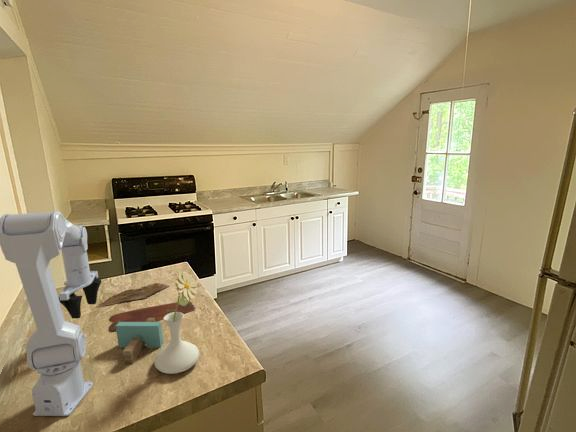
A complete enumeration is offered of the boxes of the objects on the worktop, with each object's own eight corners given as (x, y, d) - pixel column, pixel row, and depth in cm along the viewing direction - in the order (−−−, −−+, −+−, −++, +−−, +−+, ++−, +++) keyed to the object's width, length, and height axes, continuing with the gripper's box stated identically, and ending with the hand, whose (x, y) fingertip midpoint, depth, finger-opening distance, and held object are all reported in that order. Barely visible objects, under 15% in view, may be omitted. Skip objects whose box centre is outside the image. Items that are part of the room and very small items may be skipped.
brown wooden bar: (132, 364, 86) (130, 351, 85) (124, 364, 86) (122, 351, 85) (156, 329, 102) (154, 317, 101) (149, 329, 102) (148, 317, 101)
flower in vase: (174, 385, 79) (165, 291, 73) (145, 367, 85) (135, 279, 79) (213, 355, 90) (208, 271, 84) (185, 341, 96) (178, 262, 90)
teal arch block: (163, 343, 95) (160, 321, 93) (160, 347, 93) (158, 325, 91) (122, 343, 95) (119, 321, 93) (118, 347, 93) (115, 325, 91)
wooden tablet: (109, 334, 100) (108, 330, 99) (109, 318, 108) (109, 314, 108) (197, 313, 112) (196, 308, 111) (190, 300, 120) (190, 296, 120)
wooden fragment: (164, 281, 135) (164, 279, 135) (173, 291, 126) (173, 289, 126) (93, 300, 120) (93, 297, 120) (98, 313, 111) (97, 310, 111)
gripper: (79, 257, 98) (85, 298, 102) (44, 278, 84) (53, 324, 87) (102, 257, 98) (108, 298, 102) (71, 278, 84) (79, 324, 87)
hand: (84, 310), depth 94 cm, fingers open, 7 cm apart
